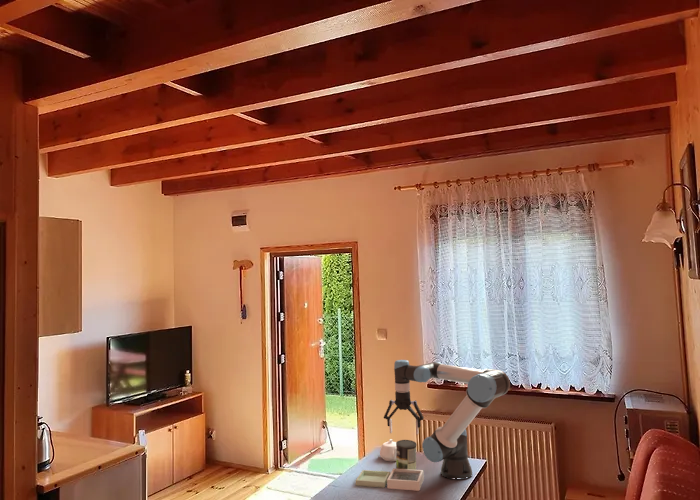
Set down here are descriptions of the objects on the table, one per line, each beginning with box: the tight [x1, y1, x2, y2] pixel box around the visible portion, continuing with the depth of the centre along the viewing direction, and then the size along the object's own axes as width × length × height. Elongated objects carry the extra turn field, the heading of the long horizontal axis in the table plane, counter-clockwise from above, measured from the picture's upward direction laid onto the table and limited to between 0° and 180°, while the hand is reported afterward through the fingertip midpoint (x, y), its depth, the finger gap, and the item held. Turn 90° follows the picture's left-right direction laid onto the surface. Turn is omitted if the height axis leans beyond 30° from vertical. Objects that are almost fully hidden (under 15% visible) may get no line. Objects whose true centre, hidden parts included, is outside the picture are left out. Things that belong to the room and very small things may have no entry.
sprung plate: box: [392, 472, 420, 481], centre depth 252 cm, size 12×12×1 cm
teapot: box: [379, 438, 397, 462], centre depth 287 cm, size 20×12×10 cm, turn 10°
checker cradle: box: [386, 467, 425, 492], centre depth 251 cm, size 15×15×4 cm
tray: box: [355, 469, 391, 489], centre depth 256 cm, size 14×14×2 cm
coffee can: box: [395, 439, 417, 470], centre depth 266 cm, size 10×10×14 cm
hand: (404, 433), depth 268 cm, fingers open, 13 cm apart
